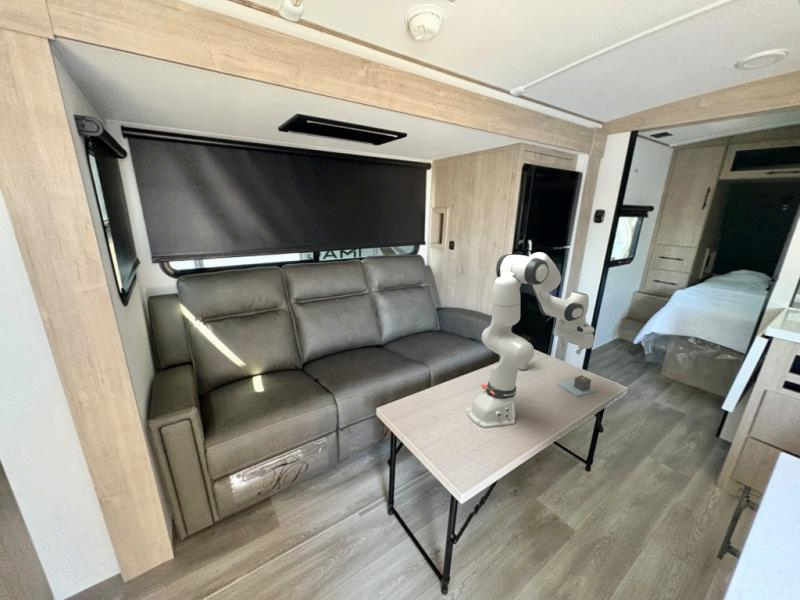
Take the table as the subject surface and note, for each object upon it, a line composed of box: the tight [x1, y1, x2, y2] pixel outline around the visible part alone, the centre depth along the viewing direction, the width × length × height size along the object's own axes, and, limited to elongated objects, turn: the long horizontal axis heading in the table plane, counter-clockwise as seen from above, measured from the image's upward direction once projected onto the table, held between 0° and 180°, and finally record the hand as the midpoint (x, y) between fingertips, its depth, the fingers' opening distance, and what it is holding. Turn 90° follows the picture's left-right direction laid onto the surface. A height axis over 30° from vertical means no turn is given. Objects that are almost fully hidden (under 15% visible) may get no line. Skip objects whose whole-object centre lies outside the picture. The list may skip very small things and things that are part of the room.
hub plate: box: [556, 378, 598, 398], centre depth 163 cm, size 14×12×5 cm
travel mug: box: [518, 334, 532, 372], centre depth 182 cm, size 6×7×20 cm
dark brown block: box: [574, 374, 592, 391], centre depth 161 cm, size 5×5×6 cm
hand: (569, 350), depth 158 cm, fingers open, 8 cm apart
